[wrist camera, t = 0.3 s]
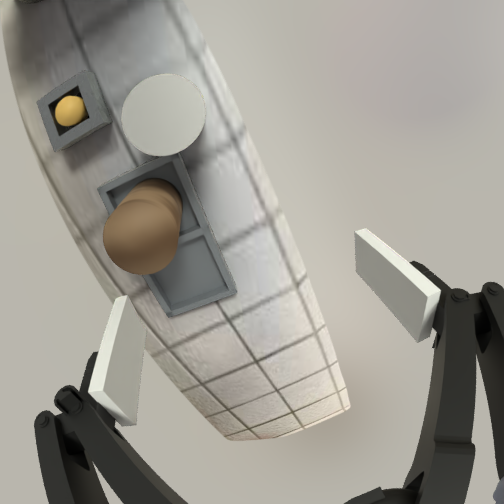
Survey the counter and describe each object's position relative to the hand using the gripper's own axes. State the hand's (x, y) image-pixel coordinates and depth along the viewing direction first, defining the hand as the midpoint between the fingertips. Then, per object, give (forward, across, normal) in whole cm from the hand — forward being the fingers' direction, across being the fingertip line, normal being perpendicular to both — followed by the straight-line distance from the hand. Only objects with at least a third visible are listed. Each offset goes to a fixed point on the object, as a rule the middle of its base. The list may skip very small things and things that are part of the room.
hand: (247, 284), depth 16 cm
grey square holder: (+27, -16, +16) cm, 35 cm away
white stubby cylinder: (+27, -3, +10) cm, 29 cm away
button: (+26, -16, +16) cm, 34 cm away
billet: (+26, -9, -1) cm, 28 cm away
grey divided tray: (+27, -9, -6) cm, 29 cm away
